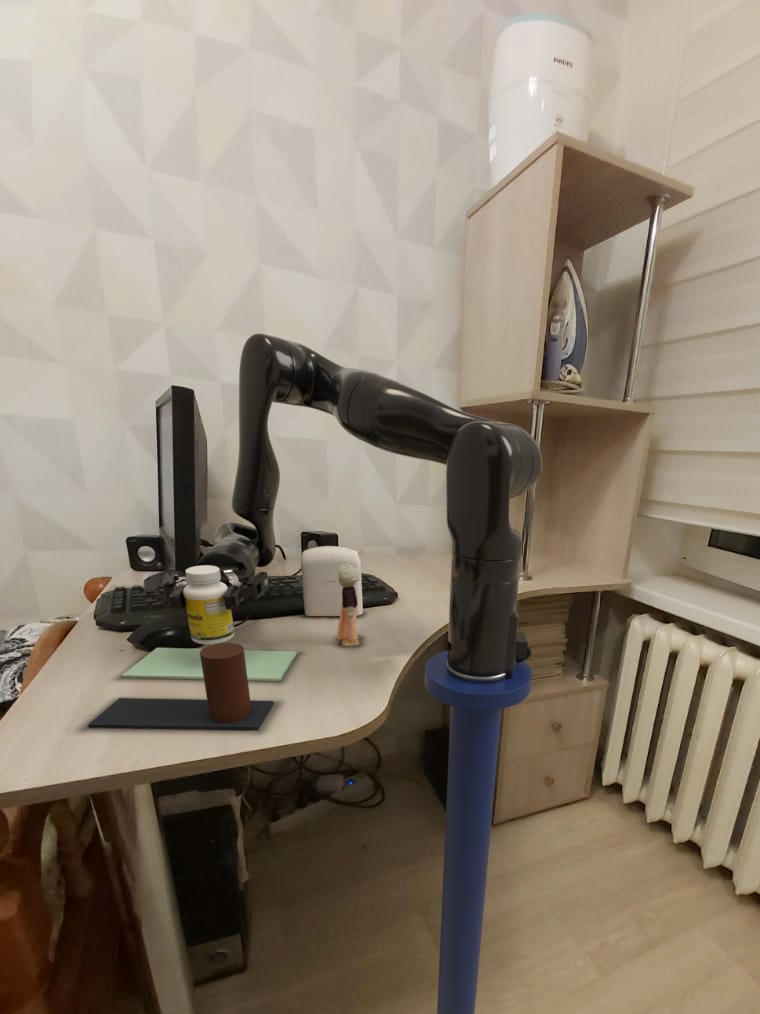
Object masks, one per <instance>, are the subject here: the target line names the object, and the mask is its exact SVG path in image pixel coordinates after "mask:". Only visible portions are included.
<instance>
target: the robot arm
mask: <svg viewBox="0 0 760 1014" xmlns="http://www.w3.org/2000/svg"><path fill="white" fill-rule="evenodd" d="M239 360H240V361H239V370H238V371H239V372H238V459H237V467H236V473H235V478H234V479H235V480H234V485H233V489H232V490H233V491H232V496H231V509H232V511H233V512H234V513H235V514H236V515H237V516H238V517H240V518H241V519H243V520H245V521H247V522H248V523H250V524H252V526H250V525H248V524H245V523H240V522H237V521H233V520H226V521H223V522H222V523H220V524H219V525H218V526H217V528H216V530H215V534H214V537H213V546H211V547H210V548H209V549H208V550H207V551H206V552H205V554H203V555H202V556H201V558H200V559H199V560H198V562H197V563H196V565H195V566H204V565H209V566H216V567H218V568H219V569H220V575H221V579H220V580H219V581H220V582H222V583H224V584H225V585H226V586H227V587H228V589H227V591H226V592H225V594H224V600H225V607H226V610H231V611H232V610H233V609H234V607H238V606H239V605H240V603H241V602H243V601H244V599H246V598H248V600H249V601H256V600H259V599H260V598H261V596H262V595H264V594H265V593H266V592H267V591H268V590H269V589H270V586H269V577H268V572H267V571H261V572H258V573H256V569H257V568H265V567H267V566H268V565H270V564H271V563H272V562H273V560H274V558H275V556H276V551H277V550H276V548H277V547H276V536H275V530H274V529H275V527H274V512H275V509H276V508H275V507H276V503H277V498H278V495H279V494H278V493H279V488H280V482H281V472H280V466H279V463H278V460H277V456H276V454H275V452H274V451H275V450H274V448H273V445H272V442H271V438H270V434H269V416H270V412H271V408H272V406H273V403H275V404H281V405H287V406H295V407H301V408H302V407H303V408H309V409H314V410H317V411H320V412H323V413H326V414H328V415H331V416H332V417H334V418H335V419H336V421H337V422H338V424H339V425H340V427H342V428H343V430H344V431H345V432H346V433H348V434H349V435H351V436H353V437H354V438H356V439H358V440H359V441H362V442H363V443H366V444H367V445H370V446H372V447H374V448H377V449H379V450H381V451H384V452H387V453H390V454H395V455H398V456H404V457H407V458H412V459H417V460H423V461H428V462H433V463H438V464H441V465H444V466H446V467H445V468H446V469H445V495H446V497H445V499H446V500H445V501H446V503H445V505H446V506H445V507H446V524H447V529H448V532H449V535H450V539H451V560H450V563H451V564H450V585H449V586H450V588H449V608H448V609H449V610H448V611H449V612H448V633H447V641H446V647H447V651H448V653H447V665H446V668H447V671H448V673H449V674H450V675H452V676H453V677H455V678H457V679H460V680H463V681H466V682H472V683H493V682H498V681H501V680H504V679H512V678H513V668H514V659H516V660H515V661H516V662H517V663H518V664H519V663H521V662H523V661H524V662H525V661H527V660H528V659H529V658H530V657H531V655H532V648H531V647H530V646H529V642H528V639H527V637H526V634H525V631H518V624H519V614H518V612H517V604H518V603H517V602H518V594H519V593H518V592H519V581H520V571H521V559H522V551H523V536H522V534H521V532H519V531H518V530H517V529H515V528H513V527H512V525H511V522H510V499H513V498H516V497H519V496H520V495H523V494H525V493H526V492H528V491H529V490H531V489H532V488H533V487H534V486H535V484H536V483H537V482H538V480H539V478H540V477H541V474H542V471H543V455H542V452H541V449H540V447H539V445H538V443H537V441H536V439H535V438H534V437H533V436H532V435H531V433H530V432H528V430H526V429H525V428H523V427H521V426H519V425H518V424H514V423H510V422H503V421H499V420H493V419H489V418H485V417H481V416H478V415H474V414H471V413H467V412H465V411H462V410H459V409H457V408H454V407H452V406H450V405H448V404H446V403H444V402H442V401H440V400H438V399H436V398H434V397H432V396H430V395H428V394H426V393H423V392H421V391H419V390H417V389H415V388H413V387H410V386H408V385H406V384H404V383H402V382H399V381H397V380H395V379H392V378H390V377H387V376H384V375H381V374H378V373H376V372H372V371H368V370H364V369H361V368H352V367H345V366H343V365H340V364H338V363H336V362H334V361H333V360H331V359H329V358H326V357H325V356H324V355H322V354H320V353H319V352H316V351H315V350H314V349H312V348H310V347H308V346H306V345H304V344H302V343H299V342H296V341H292V340H288V339H285V338H282V337H278V336H274V335H271V334H266V333H259V332H258V333H254V334H251V336H249V337H248V338H247V339H246V341H245V343H244V344H243V347H242V352H241V355H240V359H239ZM255 573H256V574H255ZM189 584H190V583H189V582H188V581H187V578H186V576H179V574H176V573H175V572H173V571H168V572H165V573H164V576H163V580H162V583H161V585H162V590H163V596H164V600H165V602H169V603H170V607H171V608H173V609H174V611H183V609H185V608H186V606H185V600H184V594H183V590H184V588H185V587H186V586H187V585H189Z"/></svg>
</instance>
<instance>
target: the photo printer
mask: <svg viewBox="0 0 760 1014" xmlns="http://www.w3.org/2000/svg"><path fill="white" fill-rule="evenodd" d="M361 562H362V561H361V559H360V557H359V552H358V551H357V550H354V549H351V548H348V547H343V546H336V545H324V546H316V547H311V548H308V549H305V550H303V551H302V554H301V559H300V568H301V569H300V571H301V583H302V595H303V605H304V614H305V615H306V616H307V617H340V613H341V609H342V589H343V586H341V585H340V583H339V574H338V569H339V568H340V566H342V565H344V564H348V565H351V566H353V567H354V568H356V569H357V571H358V573H359V574H360V576H361V578H360V580H359V581H356V583H355V585H354V586H353V587H354V588H355V591H356V597H357V604H358V605H357V616H361V615H362V614H363V613H364V608H363V586H362V585H363V584H362V564H361Z"/></svg>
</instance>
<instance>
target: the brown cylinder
mask: <svg viewBox="0 0 760 1014" xmlns="http://www.w3.org/2000/svg"><path fill="white" fill-rule="evenodd" d="M201 649H202V650H201V651H200V658H201V664H202V670H203V676H204V679H203V682H204V689H205V695H206V700H207V701H208V708H209V714H210V718H211V719H212V720H214V721H216V722H222V723H227V722H234V721H238V720H241V719H243V718H245V717H247V716H248V715H249V714H250V713H251V702H250V701H251V696H250V687H249V680H248V678H247V670H246V662H245V654H244V650H245V647H244V646H243V645H242V644H241V643H235V642H222V643H217V644H209V645H207V646H205V647H204V648H201Z"/></svg>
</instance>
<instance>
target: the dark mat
mask: <svg viewBox="0 0 760 1014" xmlns="http://www.w3.org/2000/svg"><path fill="white" fill-rule="evenodd" d="M250 702H251V713H250V714H249V715H248V716H247V717H245V718H243V719H241V720H238V721H234V722H227V723H222V722H216V721H214V720H212V719H211V718H210V714H209V708H208V701H207V699H192V698H191V699H188V698H187V699H186V698H139V697H138V698H135V697H134V698H133V697H132V698H131V697H119V698H117V700H116V701H114V702H113V703H112V704H110V705H109V706H108V707H107V708H106V709H104V710H103V711H102V712H101V713H100V714H98V716H97V717H95V718H93V720H91V721H90V722H89V723H88V724H87V727H88V728H89V729H150V730H151V729H158V730H159V729H160V730H224V731H225V730H226V731H227V730H229V731H230V730H231V731H235V730H236V731H258V730H259V729H260V728H261V727H262V726H261V725H263V723H264V721H265V720H266V718H267V716H268V715H269V713H270V711H271V710H272V708H273V707H274V704H275V701H274V700H250Z"/></svg>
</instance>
